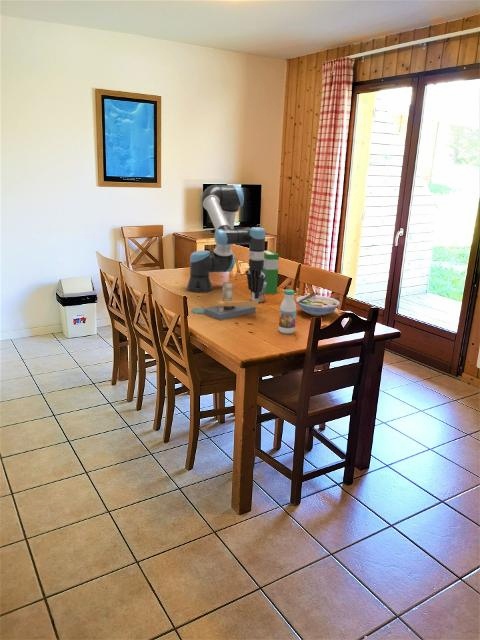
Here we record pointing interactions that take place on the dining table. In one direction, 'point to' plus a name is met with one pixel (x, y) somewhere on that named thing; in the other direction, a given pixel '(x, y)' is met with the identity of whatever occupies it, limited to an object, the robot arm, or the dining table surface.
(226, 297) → the plug
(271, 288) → the green cereal box
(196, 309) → the pad
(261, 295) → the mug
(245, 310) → the socket board
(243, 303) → the clip
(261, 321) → the dining table surface
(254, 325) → the dining table surface
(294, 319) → the milk bottle
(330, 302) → the ramen bowl
